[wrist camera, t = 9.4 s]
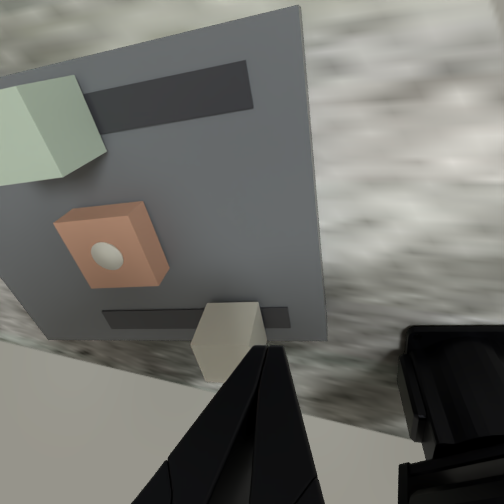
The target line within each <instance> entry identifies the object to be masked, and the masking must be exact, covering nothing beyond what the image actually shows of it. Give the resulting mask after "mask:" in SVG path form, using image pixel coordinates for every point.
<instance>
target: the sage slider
mask: <svg viewBox="0 0 504 504" xmlns="http://www.w3.org/2000/svg"><path fill="white" fill-rule="evenodd" d="M105 152H107V150H106V148H105V146H104V143H103V141H102V139H101V136H100V134H99V132H98V129H97V127H96V125H95V122H94V120H93V117H92V115H91V113H90V110H89V108H88V106H87V103H86V101H85V99H84V96H83V94H82V92H81V89H80V87H79V85H78V82H77V80H76V78H75V75H70V76H65V77H60V78H55V79H49V80H44V81H39V82H34V83H28V84H23V85H18V86H13V87H9V88H5V89H0V186H4V185H11V184H18V183H25V182H32V181H39V180H47V179H54V178H61V177H64V176H66V175H68V174H69V173H71V172H73V171H75V170H76V169H78V168H80V167H81V166H83V165H85V164H87V163H88V162H90V161H92V160H93V159H95V158H97V157H99V156H100V155H102V154H104V153H105Z"/></svg>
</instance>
